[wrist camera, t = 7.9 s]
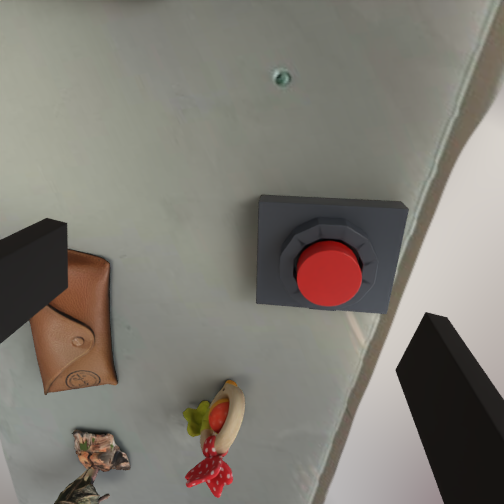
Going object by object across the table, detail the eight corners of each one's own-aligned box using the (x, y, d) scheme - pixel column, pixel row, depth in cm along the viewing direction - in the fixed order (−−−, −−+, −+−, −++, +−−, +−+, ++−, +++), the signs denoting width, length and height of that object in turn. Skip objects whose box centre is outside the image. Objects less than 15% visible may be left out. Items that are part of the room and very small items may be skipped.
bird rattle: (211, 358, 42) (175, 422, 42) (208, 404, 31) (158, 492, 31) (256, 381, 42) (220, 444, 43) (268, 434, 31) (220, 520, 32)
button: (362, 242, 27) (366, 252, 26) (353, 296, 30) (357, 309, 28) (299, 238, 28) (299, 248, 26) (294, 291, 30) (294, 304, 28)
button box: (401, 201, 29) (416, 216, 26) (381, 301, 33) (391, 326, 30) (261, 194, 31) (256, 207, 27) (258, 291, 35) (253, 314, 31)
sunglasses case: (121, 389, 42) (66, 424, 37) (90, 360, 46) (36, 389, 41) (111, 256, 34) (39, 278, 30) (74, 235, 38) (6, 251, 33)
